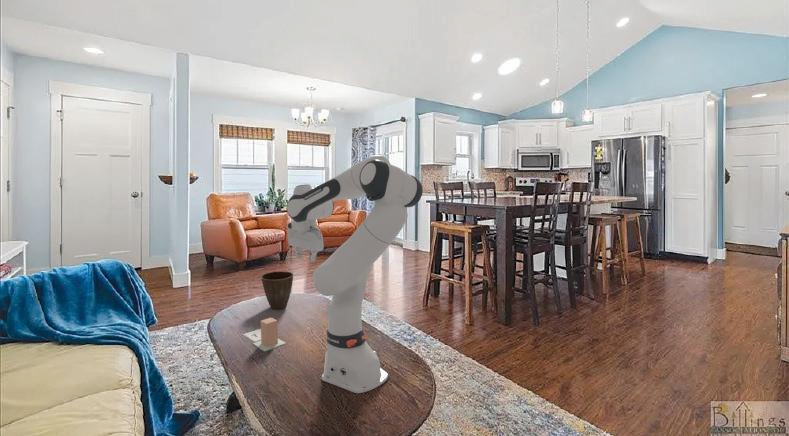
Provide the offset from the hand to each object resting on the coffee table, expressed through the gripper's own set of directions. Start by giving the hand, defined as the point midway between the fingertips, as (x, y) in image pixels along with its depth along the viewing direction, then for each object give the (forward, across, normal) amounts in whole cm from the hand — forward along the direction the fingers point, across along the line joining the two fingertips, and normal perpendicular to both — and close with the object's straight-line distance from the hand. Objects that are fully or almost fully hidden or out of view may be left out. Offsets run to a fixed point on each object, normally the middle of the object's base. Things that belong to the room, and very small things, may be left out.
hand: (305, 259), depth 154 cm
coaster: (+31, +2, +16) cm, 35 cm away
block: (+30, +2, +16) cm, 34 cm away
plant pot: (+31, +37, -8) cm, 49 cm away
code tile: (+31, +13, +14) cm, 36 cm away
